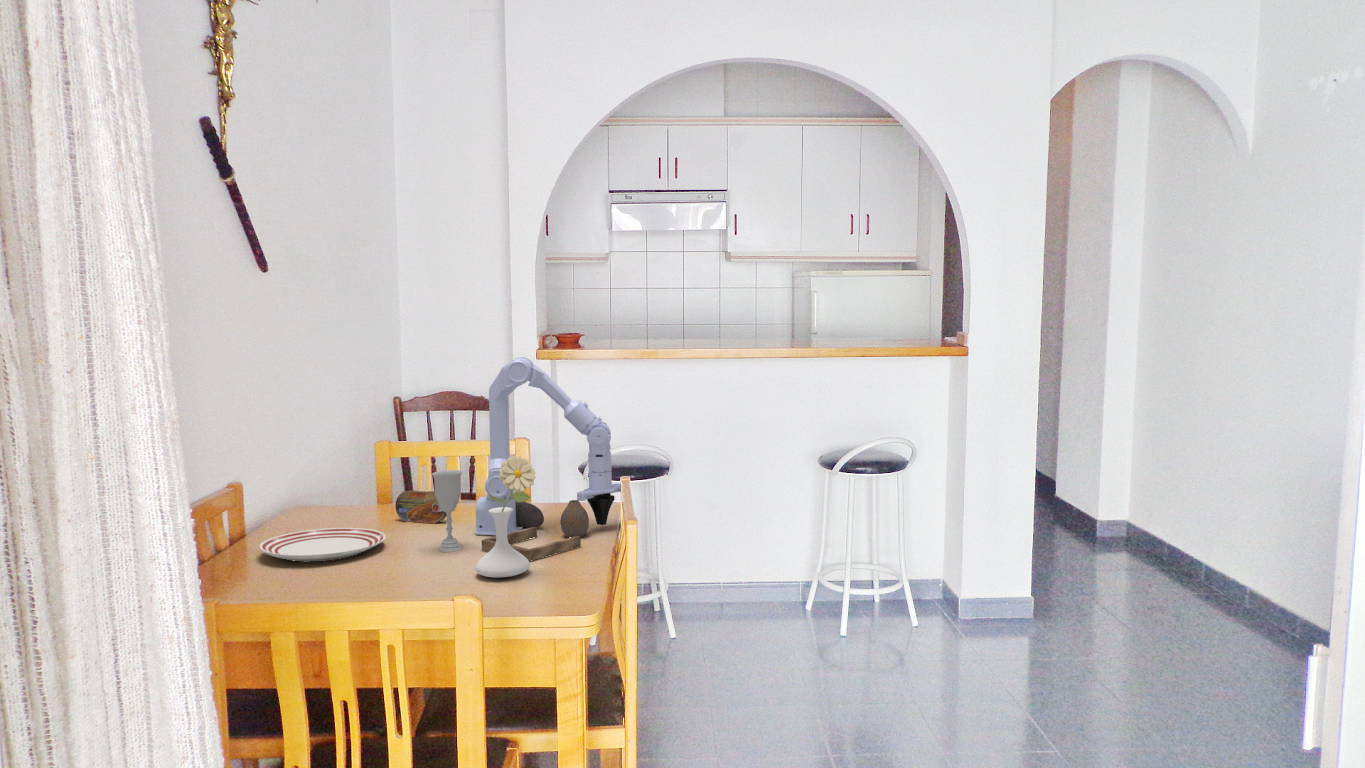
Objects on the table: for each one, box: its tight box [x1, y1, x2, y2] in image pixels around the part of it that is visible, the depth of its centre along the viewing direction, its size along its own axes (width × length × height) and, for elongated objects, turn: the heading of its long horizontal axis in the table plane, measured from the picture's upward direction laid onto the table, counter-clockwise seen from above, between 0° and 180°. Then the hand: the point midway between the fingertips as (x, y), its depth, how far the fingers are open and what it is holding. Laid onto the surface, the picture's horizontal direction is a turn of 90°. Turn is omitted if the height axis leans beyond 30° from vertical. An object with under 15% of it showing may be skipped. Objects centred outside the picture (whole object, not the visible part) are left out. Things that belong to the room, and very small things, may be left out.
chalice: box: [431, 469, 463, 553], centre depth 213 cm, size 7×7×18 cm
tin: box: [394, 490, 447, 524], centre depth 242 cm, size 15×3×8 cm, turn 73°
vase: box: [560, 499, 590, 538], centre depth 223 cm, size 7×7×9 cm
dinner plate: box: [258, 527, 387, 562], centre depth 213 cm, size 28×27×3 cm
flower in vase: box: [474, 455, 536, 579], centre depth 192 cm, size 13×11×25 cm
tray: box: [481, 527, 582, 561], centre depth 212 cm, size 16×16×2 cm
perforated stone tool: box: [516, 501, 545, 529], centre depth 234 cm, size 15×5×7 cm, turn 59°
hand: (601, 524), depth 230 cm, fingers closed
